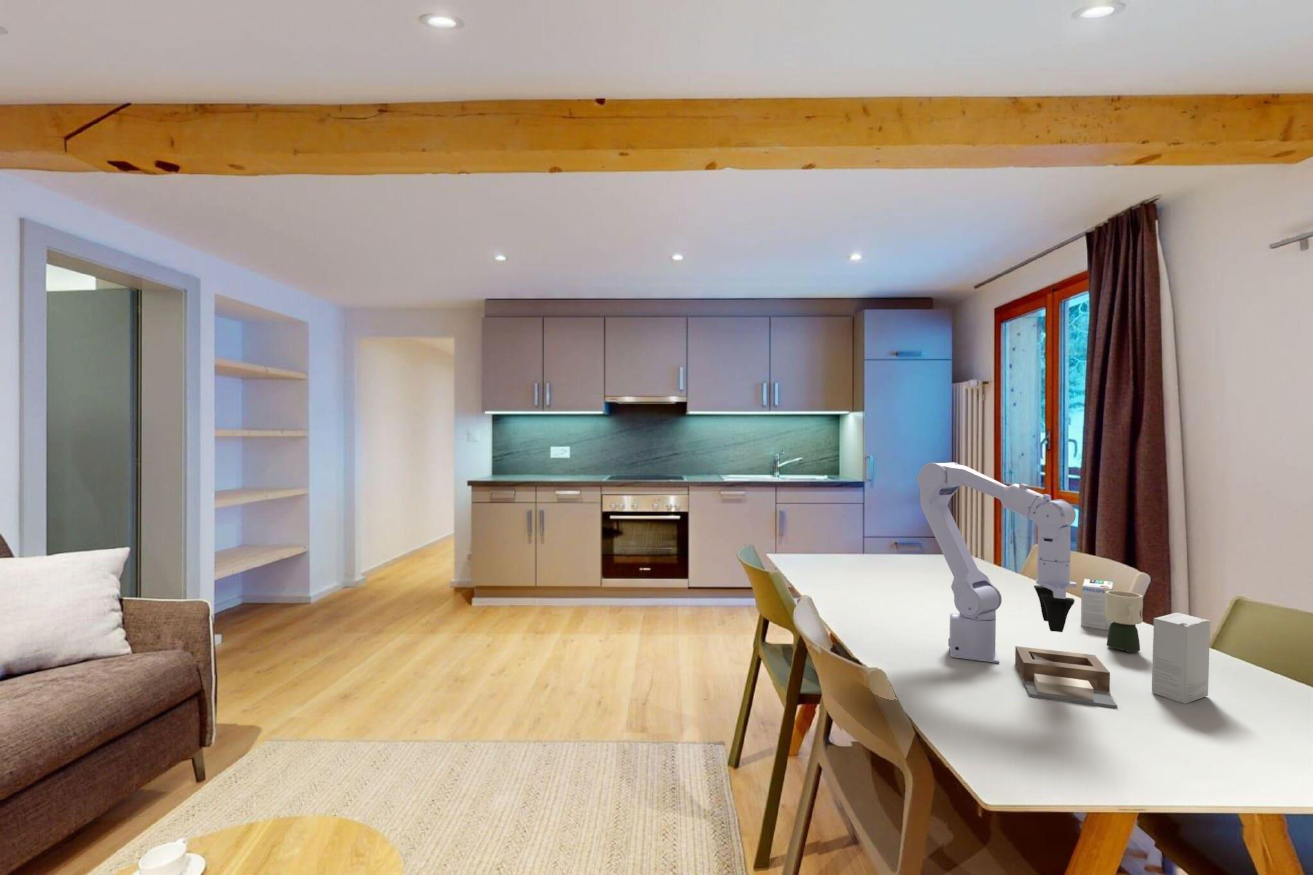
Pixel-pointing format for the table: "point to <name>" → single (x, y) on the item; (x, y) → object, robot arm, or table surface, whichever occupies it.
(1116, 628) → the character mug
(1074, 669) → the walnut board
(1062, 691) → the birch bar
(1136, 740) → the table surface
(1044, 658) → the tipping switch rocker
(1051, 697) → the slate mat
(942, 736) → the table surface
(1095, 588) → the light bulb box
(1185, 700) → the skincare box
